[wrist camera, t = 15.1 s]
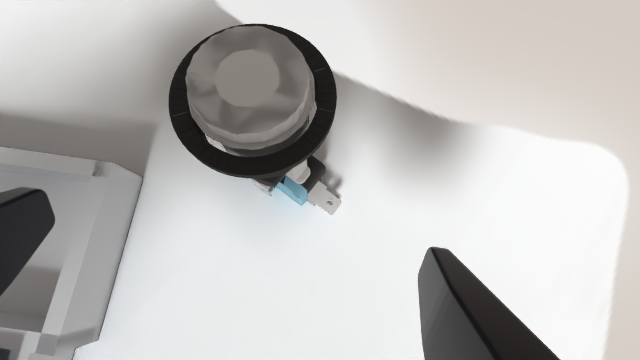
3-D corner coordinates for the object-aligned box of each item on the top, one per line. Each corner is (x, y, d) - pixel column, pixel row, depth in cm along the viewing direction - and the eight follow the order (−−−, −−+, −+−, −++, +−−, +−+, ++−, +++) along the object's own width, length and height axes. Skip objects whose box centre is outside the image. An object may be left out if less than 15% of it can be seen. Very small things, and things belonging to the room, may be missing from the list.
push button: (361, 176, 19) (412, 88, 10) (305, 251, 18) (299, 235, 9) (273, 112, 20) (237, -28, 11) (214, 179, 19) (114, 92, 9)
